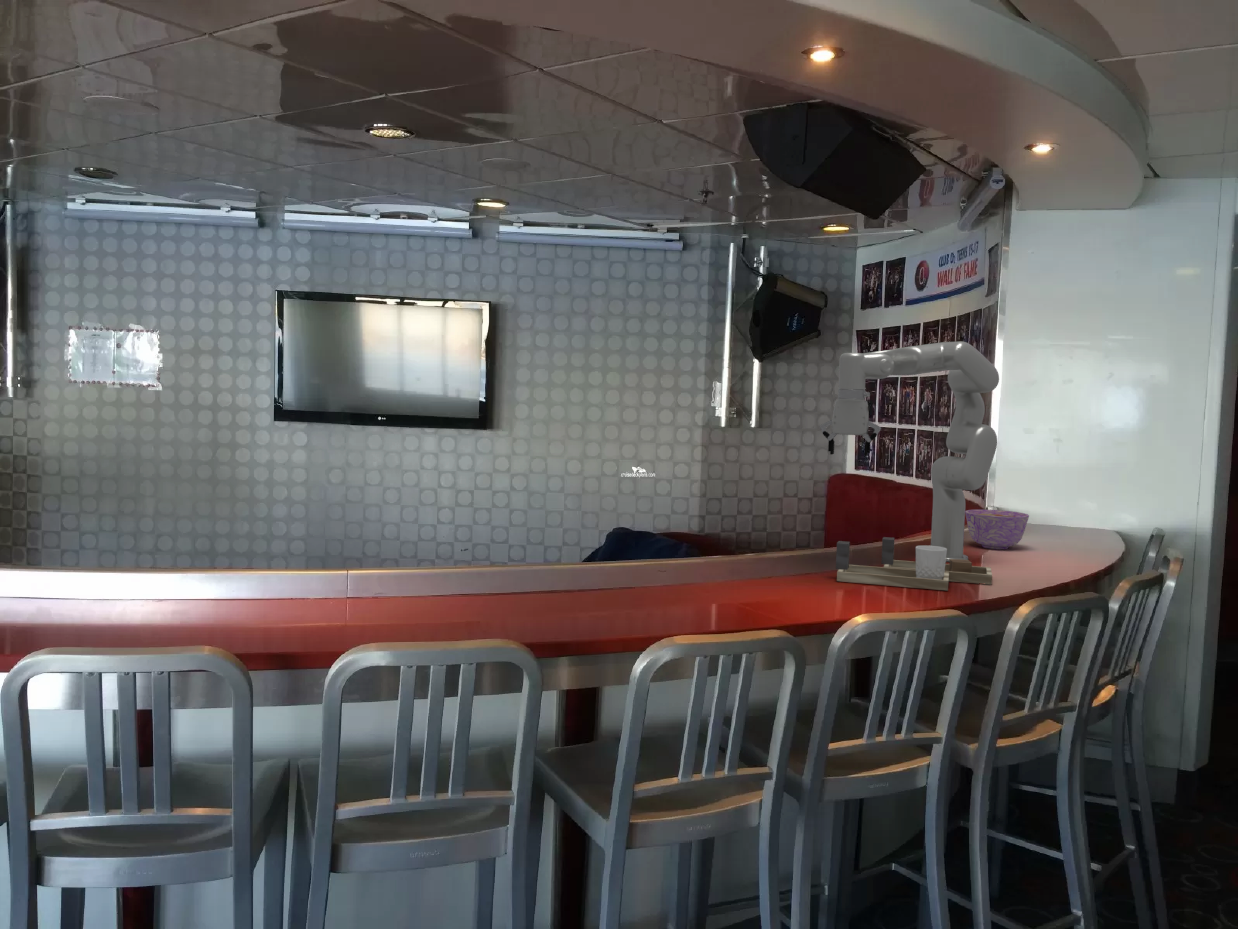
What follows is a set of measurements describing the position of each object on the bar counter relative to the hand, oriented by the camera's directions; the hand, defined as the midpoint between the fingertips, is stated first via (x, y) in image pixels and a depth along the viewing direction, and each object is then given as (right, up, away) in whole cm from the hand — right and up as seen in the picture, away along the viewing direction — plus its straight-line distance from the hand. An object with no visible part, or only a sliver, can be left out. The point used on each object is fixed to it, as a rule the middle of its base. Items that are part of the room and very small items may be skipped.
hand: (848, 454), depth 283 cm
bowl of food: (+59, -31, +44) cm, 80 cm away
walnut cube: (+27, -34, -15) cm, 46 cm away
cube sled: (+21, -34, -13) cm, 42 cm away
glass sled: (+7, -34, -22) cm, 41 cm away
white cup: (+15, -35, -25) cm, 46 cm away
